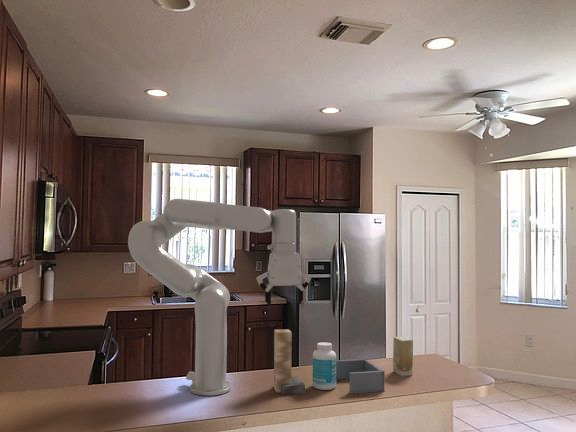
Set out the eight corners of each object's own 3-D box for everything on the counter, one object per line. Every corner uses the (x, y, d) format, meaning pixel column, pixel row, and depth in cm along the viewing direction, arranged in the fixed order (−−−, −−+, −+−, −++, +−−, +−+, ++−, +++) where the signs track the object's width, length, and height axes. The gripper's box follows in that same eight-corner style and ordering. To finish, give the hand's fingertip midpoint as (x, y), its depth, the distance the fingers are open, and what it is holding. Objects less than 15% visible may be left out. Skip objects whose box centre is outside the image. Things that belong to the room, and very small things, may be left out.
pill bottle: (337, 391, 144) (337, 346, 145) (312, 390, 144) (313, 346, 145) (335, 383, 151) (335, 341, 152) (312, 383, 152) (312, 340, 152)
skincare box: (392, 371, 166) (392, 336, 166) (403, 370, 167) (403, 335, 167) (402, 376, 159) (402, 340, 160) (413, 375, 161) (413, 339, 161)
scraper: (278, 395, 140) (278, 334, 141) (272, 385, 149) (273, 328, 149) (304, 393, 142) (305, 333, 142) (297, 384, 151) (298, 327, 151)
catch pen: (350, 393, 142) (350, 373, 142) (334, 378, 156) (335, 360, 157) (384, 391, 144) (384, 371, 144) (365, 376, 159) (365, 358, 159)
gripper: (258, 249, 141) (258, 306, 140) (314, 248, 145) (314, 304, 144) (254, 248, 148) (254, 303, 148) (307, 248, 152) (307, 301, 151)
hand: (284, 303), depth 146 cm, fingers open, 9 cm apart
